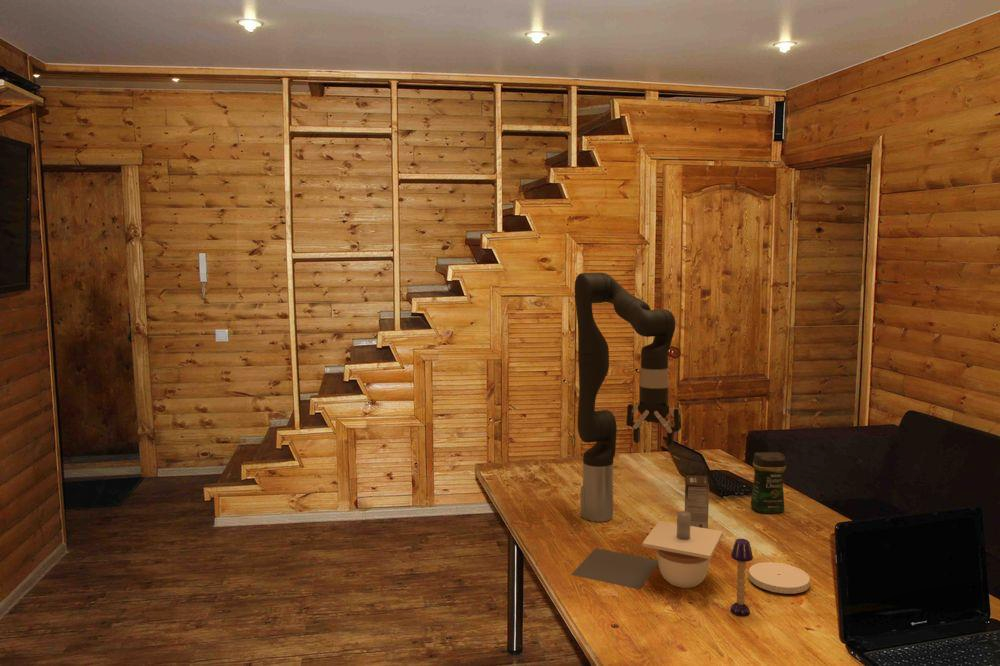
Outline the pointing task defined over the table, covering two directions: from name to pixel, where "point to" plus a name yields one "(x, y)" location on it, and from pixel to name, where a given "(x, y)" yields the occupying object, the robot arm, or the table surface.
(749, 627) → the table surface
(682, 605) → the table surface
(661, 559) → the lidded bowl
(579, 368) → the robot arm
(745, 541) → the toy lamp
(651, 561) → the rubber mat
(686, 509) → the coffee box
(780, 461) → the coffee jar
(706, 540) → the cover board
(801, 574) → the plastic lid
